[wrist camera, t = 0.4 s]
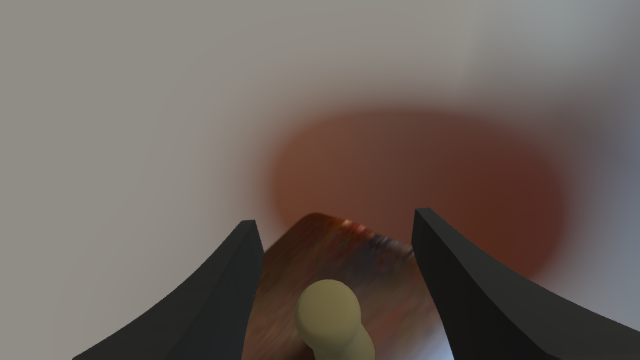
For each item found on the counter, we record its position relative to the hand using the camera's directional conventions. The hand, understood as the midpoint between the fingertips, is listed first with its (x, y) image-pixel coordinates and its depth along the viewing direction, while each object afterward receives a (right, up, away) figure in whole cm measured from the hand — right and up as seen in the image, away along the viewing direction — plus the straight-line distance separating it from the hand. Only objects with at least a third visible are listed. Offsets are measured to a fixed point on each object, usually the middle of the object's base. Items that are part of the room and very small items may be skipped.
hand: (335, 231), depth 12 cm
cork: (+2, -15, +15) cm, 21 cm away
